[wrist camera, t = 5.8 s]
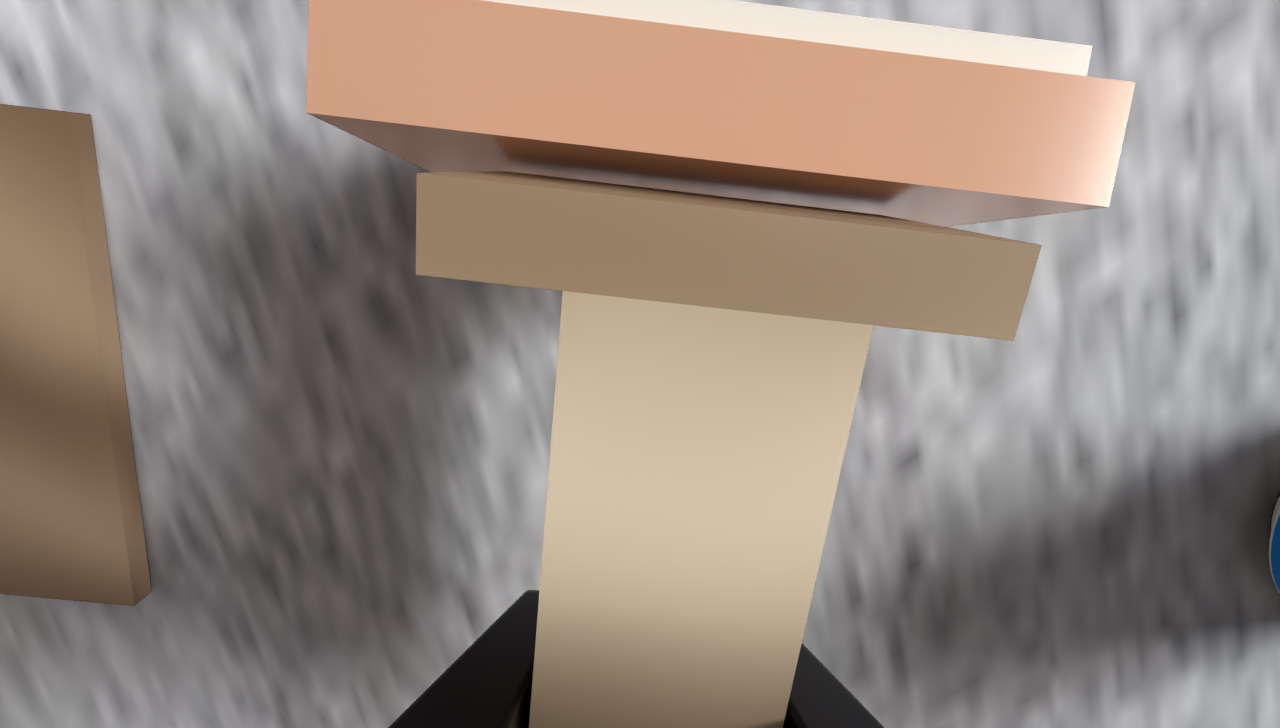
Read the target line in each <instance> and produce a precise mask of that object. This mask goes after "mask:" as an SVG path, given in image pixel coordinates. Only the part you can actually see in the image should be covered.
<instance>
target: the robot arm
mask: <svg viewBox="0 0 1280 728" xmlns="http://www.w3.org/2000/svg"><path fill="white" fill-rule="evenodd" d="M538 603H539V591H537V590H528V591H526V592H525V593H524V594H523V595H522V596H521V597H520V598H519V599H518V600H517V601H516V602H515V603H514V604H513V605H512V606H511V607H510V608H509V609H508V610H507V611H506V612H505V613H504V614H502V615H501V616H500V617H499V618H498V619H497V620H496V621H495V622H494V623H493V624H492V625H491V626H490V627H489V628H488V629H487V630H486V631H485V632H484V633H483V634H482V635H481V636H480V637H479V638H478V639H477V640H476V641H475V642H474V643H473V644H472V645H471V646H470V647H469V648H468V649H467V650H466V651H465V652H464V653H463V654H462V655H461V656H460V657H459V658H458V659H457V660H456V661H455V662H454V663H453V664H452V665H451V666H450V667H449V668H448V669H447V670H446V671H445V672H444V673H443V674H442V675H441V676H440V677H439V678H438V679H437V680H436V681H435V682H434V683H433V684H432V685H431V686H430V687H429V688H428V689H427V690H426V691H425V692H424V693H423V694H422V695H421V696H420V697H419V698H418V699H417V700H416V701H415V702H414V703H413V704H412V705H411V706H410V707H409V708H408V709H407V710H406V711H405V712H404V713H402V714H401V715H400V716H399V717H398V718H397V719H396V720H395V721H394V722H393V723H392V724H391V725H390V726H389V727H388V728H529V719H530V706H531V694H532V681H533V668H534V655H535V642H536V629H537V616H538ZM783 728H884V727H883V726H882V725H881V724H880V723H879V722H878V721H877V720H876V719H875V717H874V716H873V715H872V714H871V713H870V712H869V711H868V710H867V709H866V708H865V707H864V706H863V705H862V704H861V703H860V702H859V701H858V700H857V699H856V698H855V697H854V696H853V695H852V694H851V693H850V692H849V691H848V690H847V689H846V688H845V687H844V686H843V685H842V684H841V683H840V682H839V681H838V680H837V679H836V677H835V676H834V675H833V674H832V673H831V672H830V671H829V670H828V669H827V668H826V667H825V666H824V665H823V664H822V663H821V662H820V661H819V660H818V659H817V658H816V657H815V656H814V655H813V654H812V653H811V652H810V651H809V650H808V649H807V648H806V647H805V646H804V645H803V644H801V649H800V653H799V657H798V662H797V666H796V671H795V675H794V679H793V684H792V688H791V693H790V697H789V702H788V706H787V710H786V715H785V719H784V724H783Z"/></svg>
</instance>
